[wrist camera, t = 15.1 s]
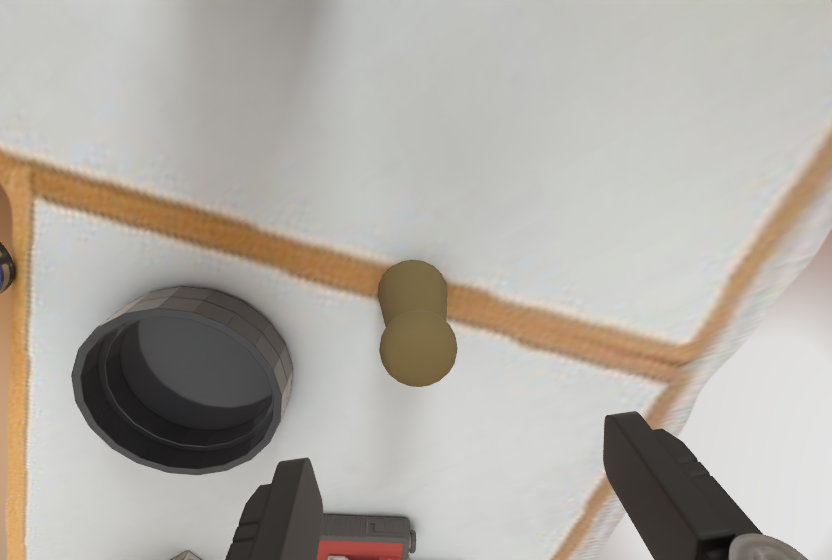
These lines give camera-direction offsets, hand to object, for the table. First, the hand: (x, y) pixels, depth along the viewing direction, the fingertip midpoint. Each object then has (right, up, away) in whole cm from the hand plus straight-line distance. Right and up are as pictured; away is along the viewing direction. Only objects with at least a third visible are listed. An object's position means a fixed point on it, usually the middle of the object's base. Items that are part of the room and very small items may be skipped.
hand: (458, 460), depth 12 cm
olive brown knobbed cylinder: (-2, +4, +26) cm, 26 cm away
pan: (-21, -3, +28) cm, 35 cm away
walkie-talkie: (-5, -25, +38) cm, 45 cm away
